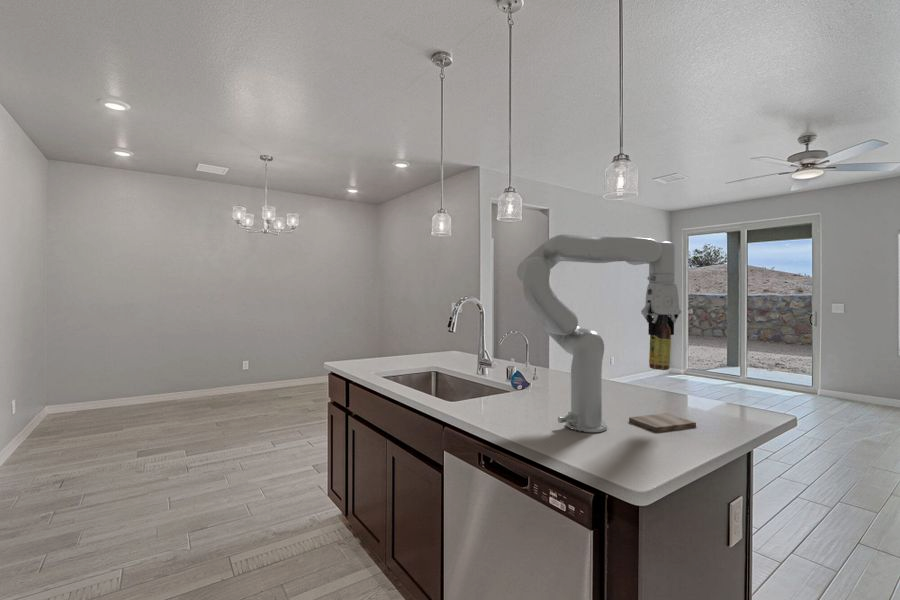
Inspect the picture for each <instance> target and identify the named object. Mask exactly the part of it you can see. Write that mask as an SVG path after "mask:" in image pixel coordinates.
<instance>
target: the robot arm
mask: <svg viewBox="0 0 900 600" xmlns="http://www.w3.org/2000/svg"><path fill="white" fill-rule="evenodd" d="M675 247H676V246H675V244H674V243H673V242H671V241H657V240H656V239H653V238H647V237H646V238H645V237H631V236H630V237H629V236H627V237H626V236H621V237H619V236H617V237H615V236H593V235H592V236H590V235H577V234H576V235H575V234H557V235H555V236H553V237H550V238H549V239H547V240H545V241H544V242H543V243H542V244H541V245H540V246H538V247H537V248H536V249H535V250H534V251H532V252H531V253H530V254H529V255H528V256H526V257H525V258H524V259H523V260H522V261H520V263H519V264H518V265H517V268H516V275H517V278H518V280H519V281H520V282H521V283H522V289H523V293H524V294H523V295H524V297H525V300H526V302H527V303H528V305H529V306H530V308H531V309H532V310H533V311H534V312H535V313H536V314H537V316H539V319H540V320H539V321H540V325H541V327H542V329H543V330H544V331H545V332H546V334H548V336H550V337H551V338H552V339H553V340H554V341H555V342H556V343H557V344H558V345H559V347H560V348H562V350H564V351H565V352H566V353H568V354H570V355H572V361H571V366H570V411H569V412H567V415H565V416H563V415H562V416H558V417H557V421H558V423H559V424H563V423H565V426H566V425H567V426H568V427H570V428H573V429H575V430H574V431H576V430H579V431H578V432H581V431H584V432H583V433H601V432H604V431H607V429H608V425H607V423H606V422H604V421H603V405H602V403H603V394H602V393H603V390H602V389H603V385H602V384H603V383H602V381H603V379H602V377H603V375H602V373H603V372H602V370H603V369H602V368H603V359H604V353H605V342H604V338H602V336H601V335H600V334H599V333H598V332H597V331H595V330H592V329H589V328H582V327H580V326H579V320H578V317H577V314H576V312H574V311H573V310H572V309H571V308H570V307H569V306H568V305H566V303H564V302H563V300H562V299H561V298H560V297H559V296H558V295H557V294H556V293H555V291H554V290H553V289H552V287H551V285H550V275H551V269H553V268H555V266H556V265H557V264H558V263H559V262H570V263H571V262H573V263H587V264H607V263H614V262H626V263H627V264H629V265H632V266H639V265H644V264H645V265H647V264H648V272H649V273H648V276H647V281H648V283H647V287H646V292H645V293H646V294H645V303H644V304H645V305H644V307H643V308H642V310H641V311H640V312H641V314H642V316H643V317H644V319H645V320H646V323H647V324H648V335H649V336H650V335H657V323H656V320H657V317H658V315H668V322H667V323H668V325H669V327H670V329H671V336H674V335H675V323H676V322H677V318H678V317H679V316H680V314H681V313H682V310H681V309H680V301H679V291H678V287H677V284H675V266H676V265H675V261H676V259H675V258H676V257H675V253H676V249H675ZM567 426H566V427H567ZM568 427H567V428H568ZM570 428H569V429H570Z"/></svg>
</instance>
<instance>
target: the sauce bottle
mask: <svg viewBox="0 0 900 600" xmlns="http://www.w3.org/2000/svg"><path fill="white" fill-rule="evenodd" d="M667 322H668V315H658V317H657V320H656V323H657V335H649V354H648V355H649V357H648V363H649V368H650V369H653V370H658V371H668V370H670V365H671V349H672V348H671V347H672V346H671V345H672V335H671V329H670V327H669V325H668V323H667Z"/></svg>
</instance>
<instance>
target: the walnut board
mask: <svg viewBox="0 0 900 600" xmlns="http://www.w3.org/2000/svg"><path fill="white" fill-rule="evenodd" d="M628 421H629V423H631V424H633V423H634V424H633V425H636V426H638V425H639V426H638V427H641V428H643V429H647V430H649V431H652V432H654V433H661V432H670V431H678V430H685V429H691V428H692V429H693V428H697V422H696V421H694V420H689V419H686V418H683V417H681V416H677V415H674V414H671V413H667V412H665V413H657V414H655V413H654V414H648V415H641V416H640V415H638V416H630V417H628Z"/></svg>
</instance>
